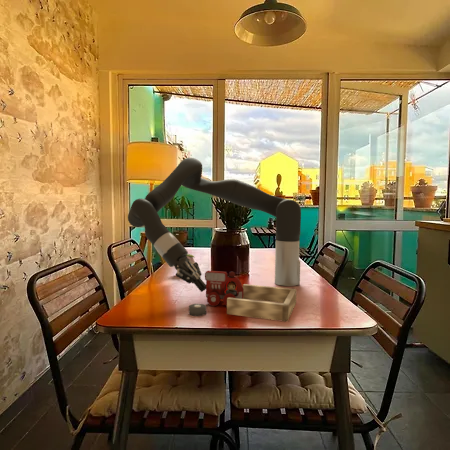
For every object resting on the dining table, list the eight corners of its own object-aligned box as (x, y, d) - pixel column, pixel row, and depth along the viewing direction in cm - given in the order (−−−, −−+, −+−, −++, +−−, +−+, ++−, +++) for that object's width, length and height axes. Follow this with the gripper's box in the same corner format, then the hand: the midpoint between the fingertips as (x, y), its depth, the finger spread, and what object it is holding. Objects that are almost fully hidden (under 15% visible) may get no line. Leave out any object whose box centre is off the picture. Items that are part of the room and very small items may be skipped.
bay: (226, 314, 97) (227, 298, 96) (243, 297, 114) (244, 284, 113) (287, 321, 91) (288, 305, 91) (296, 302, 108) (296, 289, 108)
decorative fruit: (195, 272, 151) (195, 250, 151) (194, 276, 143) (194, 253, 142) (174, 272, 151) (174, 250, 150) (172, 276, 143) (172, 253, 142)
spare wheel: (206, 310, 100) (206, 303, 100) (205, 316, 95) (205, 308, 95) (189, 310, 100) (189, 303, 100) (188, 316, 95) (188, 308, 95)
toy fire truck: (241, 308, 102) (241, 274, 101) (202, 305, 104) (202, 272, 103) (244, 301, 109) (245, 270, 108) (207, 299, 111) (207, 268, 110)
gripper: (173, 253, 118) (204, 291, 115) (153, 260, 106) (188, 302, 103) (186, 239, 116) (219, 277, 113) (168, 244, 103) (204, 287, 100)
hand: (204, 289), depth 108 cm, fingers closed
